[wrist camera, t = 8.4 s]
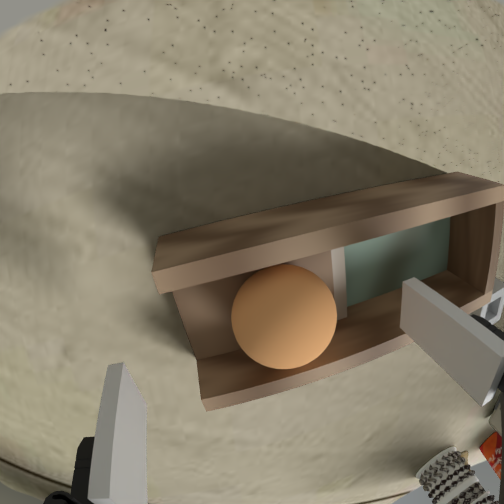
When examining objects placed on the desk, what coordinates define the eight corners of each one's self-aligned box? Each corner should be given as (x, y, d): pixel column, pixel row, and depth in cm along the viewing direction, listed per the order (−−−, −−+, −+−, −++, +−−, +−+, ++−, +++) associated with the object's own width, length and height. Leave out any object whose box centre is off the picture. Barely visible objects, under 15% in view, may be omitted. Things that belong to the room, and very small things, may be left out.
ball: (228, 349, 17) (270, 407, 13) (206, 270, 15) (249, 318, 11) (303, 315, 19) (358, 358, 15) (294, 238, 17) (358, 269, 13)
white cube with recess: (454, 317, 24) (475, 335, 21) (460, 283, 22) (484, 298, 20) (479, 304, 24) (499, 319, 22) (485, 271, 23) (508, 285, 20)
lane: (199, 359, 19) (206, 411, 15) (158, 236, 16) (151, 272, 12) (452, 276, 22) (490, 302, 18) (457, 171, 19) (504, 184, 15)
